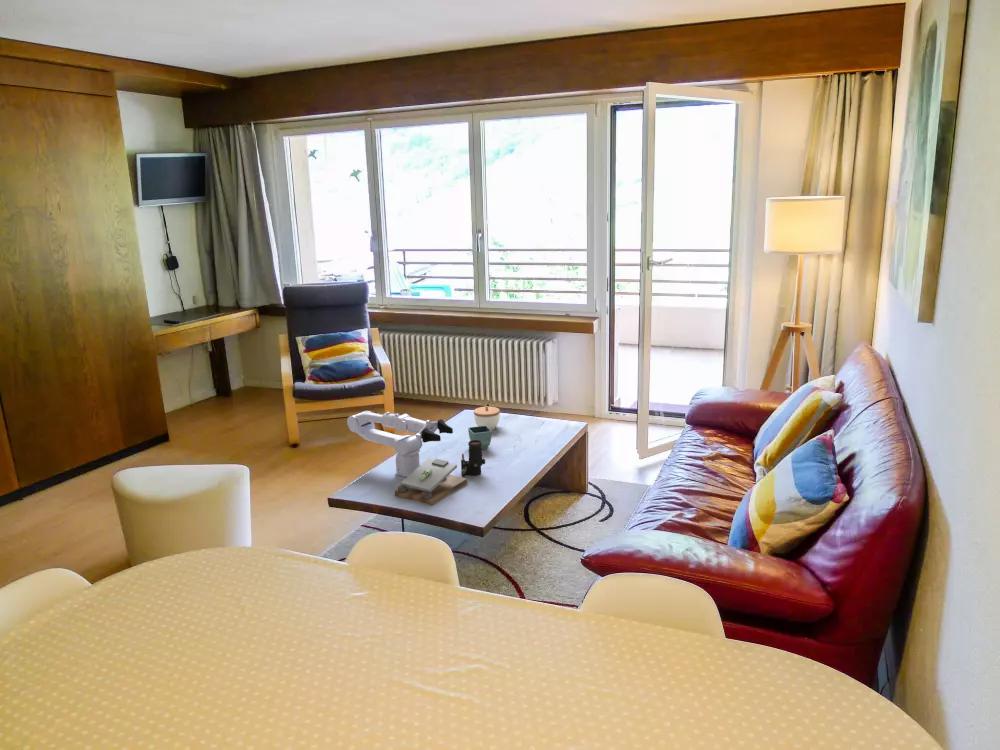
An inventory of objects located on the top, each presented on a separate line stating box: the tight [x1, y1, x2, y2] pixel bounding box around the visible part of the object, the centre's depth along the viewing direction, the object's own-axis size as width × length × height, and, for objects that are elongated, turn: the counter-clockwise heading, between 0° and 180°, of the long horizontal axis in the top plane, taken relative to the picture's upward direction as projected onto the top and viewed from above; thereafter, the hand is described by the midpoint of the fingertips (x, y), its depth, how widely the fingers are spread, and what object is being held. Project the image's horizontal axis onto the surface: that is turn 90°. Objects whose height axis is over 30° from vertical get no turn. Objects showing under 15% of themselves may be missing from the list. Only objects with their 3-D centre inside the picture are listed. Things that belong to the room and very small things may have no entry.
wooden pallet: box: [393, 474, 468, 506], centre depth 277 cm, size 18×23×4 cm
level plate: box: [400, 457, 458, 492], centre depth 274 cm, size 14×18×3 cm
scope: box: [460, 440, 486, 478], centre depth 289 cm, size 8×14×10 cm
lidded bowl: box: [473, 405, 501, 431], centre depth 343 cm, size 13×13×11 cm
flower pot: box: [467, 425, 493, 450], centre depth 318 cm, size 9×9×9 cm
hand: (446, 434), depth 277 cm, fingers open, 7 cm apart
